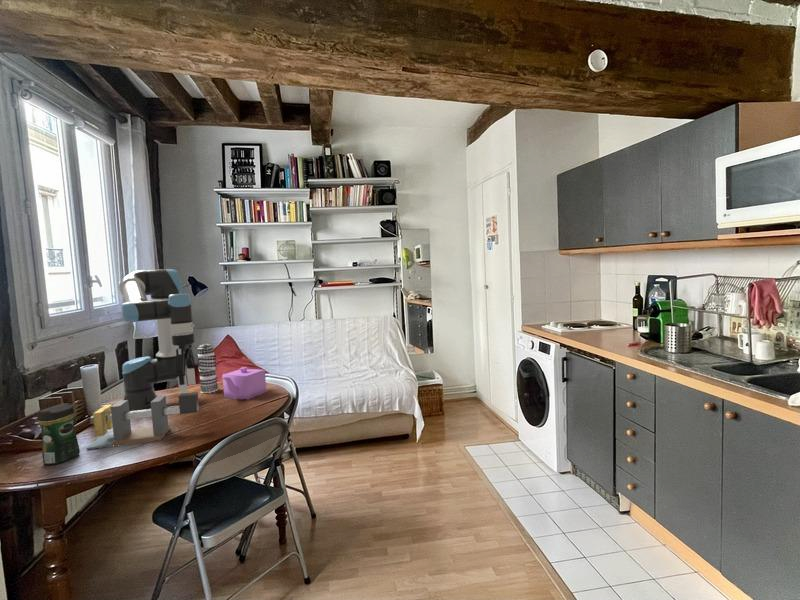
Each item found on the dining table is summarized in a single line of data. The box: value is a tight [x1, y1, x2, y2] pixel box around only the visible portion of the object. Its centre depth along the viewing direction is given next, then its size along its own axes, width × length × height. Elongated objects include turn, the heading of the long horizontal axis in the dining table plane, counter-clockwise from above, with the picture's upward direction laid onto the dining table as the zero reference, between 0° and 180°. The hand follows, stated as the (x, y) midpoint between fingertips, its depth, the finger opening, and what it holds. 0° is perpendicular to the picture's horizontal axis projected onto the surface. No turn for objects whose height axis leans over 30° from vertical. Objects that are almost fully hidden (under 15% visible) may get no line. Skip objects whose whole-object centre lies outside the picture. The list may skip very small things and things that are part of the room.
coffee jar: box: [37, 402, 81, 465], centre depth 143 cm, size 10×8×19 cm
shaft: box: [89, 391, 200, 425], centre depth 160 cm, size 4×36×7 cm, turn 105°
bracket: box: [111, 395, 171, 447], centre depth 160 cm, size 12×16×14 cm
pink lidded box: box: [222, 366, 268, 400], centre depth 210 cm, size 15×25×14 cm, turn 157°
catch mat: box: [86, 433, 116, 450], centre depth 157 cm, size 12×8×1 cm
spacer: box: [92, 403, 114, 438], centre depth 157 cm, size 10×2×8 cm, turn 15°
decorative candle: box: [196, 343, 219, 394], centre depth 222 cm, size 9×9×25 cm
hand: (187, 388), depth 163 cm, fingers open, 13 cm apart
